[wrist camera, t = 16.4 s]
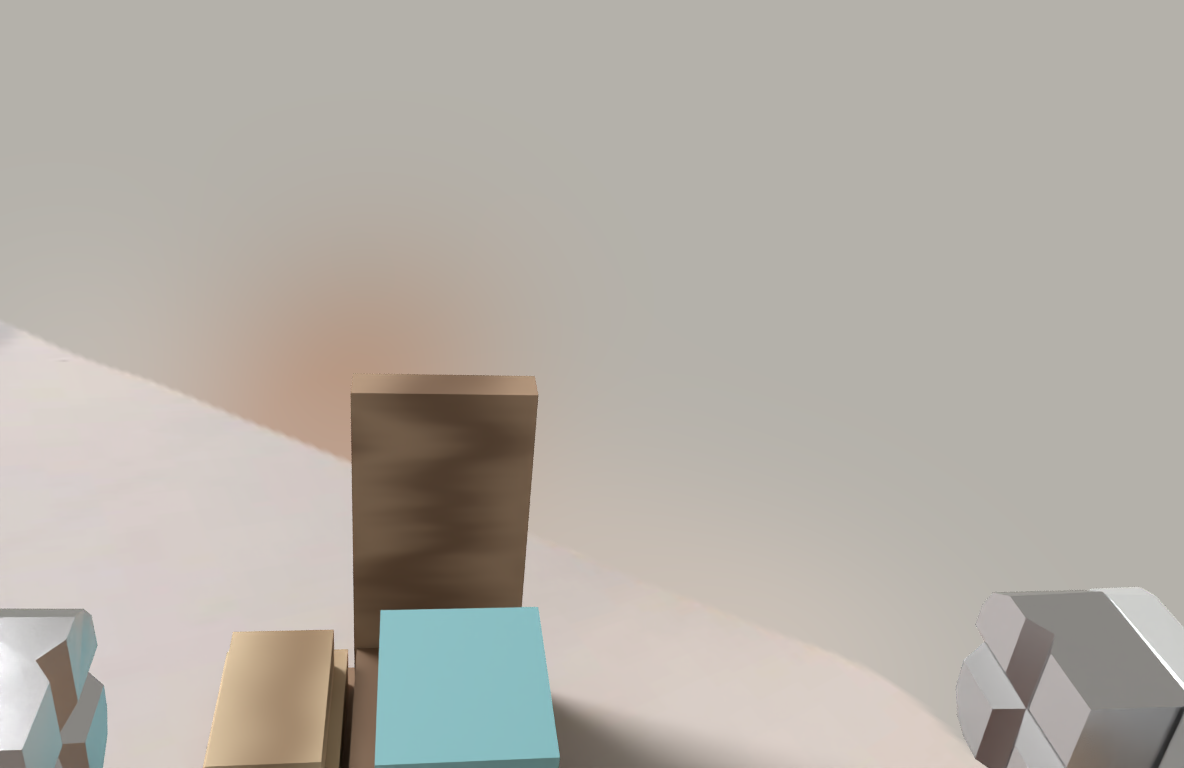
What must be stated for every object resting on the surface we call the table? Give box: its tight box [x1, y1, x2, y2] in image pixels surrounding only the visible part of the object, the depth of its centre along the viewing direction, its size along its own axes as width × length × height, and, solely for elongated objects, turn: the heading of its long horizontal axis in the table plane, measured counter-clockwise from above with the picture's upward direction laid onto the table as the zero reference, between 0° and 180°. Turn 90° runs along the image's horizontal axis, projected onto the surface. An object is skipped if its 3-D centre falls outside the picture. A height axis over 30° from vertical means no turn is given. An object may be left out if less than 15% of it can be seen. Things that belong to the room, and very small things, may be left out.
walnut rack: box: [342, 374, 538, 768], centre depth 42 cm, size 12×11×16 cm
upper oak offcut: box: [205, 630, 335, 768], centre depth 43 cm, size 4×7×2 cm, turn 8°
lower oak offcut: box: [203, 649, 348, 768], centre depth 44 cm, size 5×9×2 cm, turn 8°
